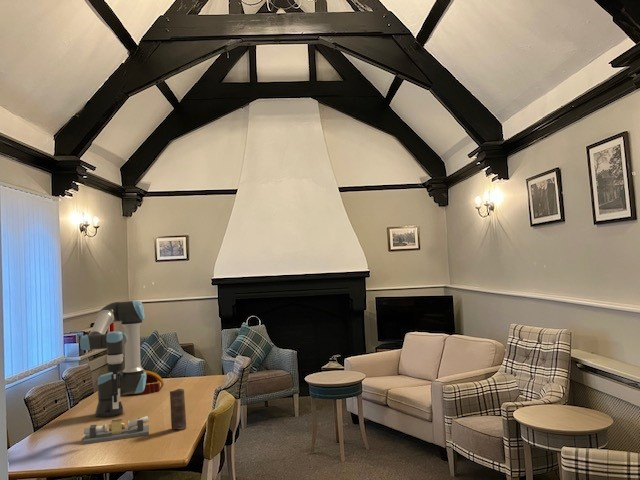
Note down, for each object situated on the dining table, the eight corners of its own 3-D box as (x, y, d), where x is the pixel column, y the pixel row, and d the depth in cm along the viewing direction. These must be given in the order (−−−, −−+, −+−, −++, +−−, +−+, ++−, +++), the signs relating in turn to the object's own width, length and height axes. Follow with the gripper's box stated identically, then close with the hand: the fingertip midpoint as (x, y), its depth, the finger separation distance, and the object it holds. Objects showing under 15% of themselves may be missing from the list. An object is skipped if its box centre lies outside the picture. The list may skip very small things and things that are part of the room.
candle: (172, 432, 257) (171, 391, 258) (169, 428, 263) (168, 389, 264) (187, 429, 260) (186, 389, 262) (184, 425, 267) (183, 386, 268)
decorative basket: (105, 400, 342) (103, 378, 341) (124, 383, 371) (122, 363, 369) (155, 399, 340) (153, 377, 339) (170, 382, 369) (168, 362, 368)
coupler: (109, 435, 252) (108, 422, 252) (109, 432, 256) (109, 420, 257) (124, 433, 254) (124, 420, 255) (125, 430, 258) (124, 418, 259)
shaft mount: (83, 444, 245) (82, 427, 245) (86, 436, 256) (85, 420, 257) (149, 434, 254) (148, 418, 255) (149, 428, 266) (148, 412, 266)
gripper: (121, 366, 246) (123, 410, 246) (124, 357, 270) (125, 398, 269) (105, 368, 244) (106, 412, 243) (109, 359, 268) (110, 400, 267)
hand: (116, 405), depth 256 cm, fingers open, 13 cm apart
